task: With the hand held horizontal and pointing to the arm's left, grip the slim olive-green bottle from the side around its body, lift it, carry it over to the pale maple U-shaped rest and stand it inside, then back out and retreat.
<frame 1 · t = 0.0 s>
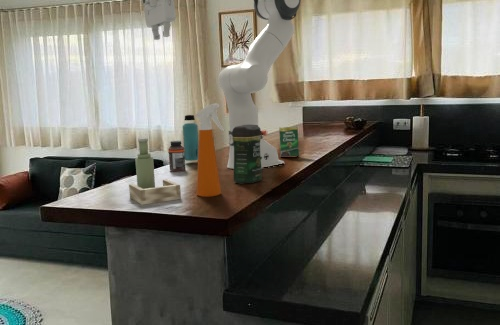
hand: (161, 38, 169), 48 cm above the counter, tool pointing down, fingers open, 8 cm apart
spray bottle: (213, 195, 143), on the counter
coffee jar: (248, 182, 161), on the counter
coffee box: (289, 158, 210), on the counter
bottle: (146, 189, 154), on the counter
supplement bottle: (177, 171, 188), on the counter
u rest: (155, 198, 141), on the counter
beverage bottle: (192, 163, 206), on the counter
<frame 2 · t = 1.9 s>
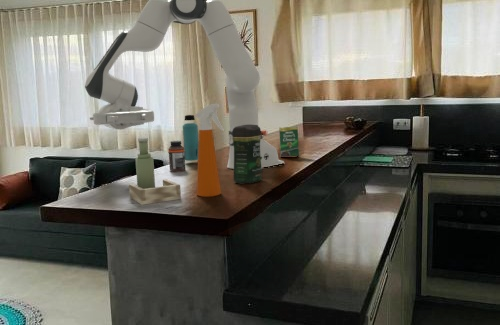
hand: (130, 118, 161), 22 cm above the counter, tool horizontal, fingers open, 8 cm apart
nothing on the counter moved.
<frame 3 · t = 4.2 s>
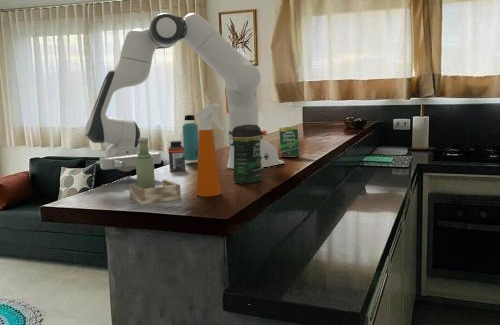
hand: (137, 163, 160), 7 cm above the counter, tool horizontal, fingers open, 8 cm apart
nothing on the counter moved.
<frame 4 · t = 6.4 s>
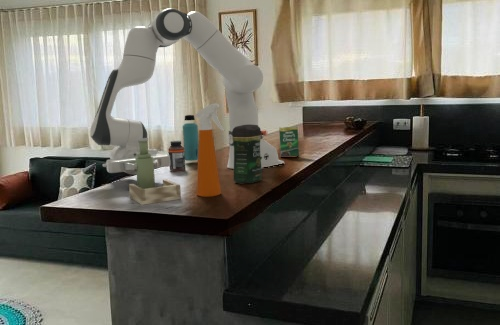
hand: (145, 166, 152), 8 cm above the counter, tool horizontal, fingers closed on bottle, 5 cm apart
bottle: (146, 189, 154), on the counter, touching gripper
everything else where it was.
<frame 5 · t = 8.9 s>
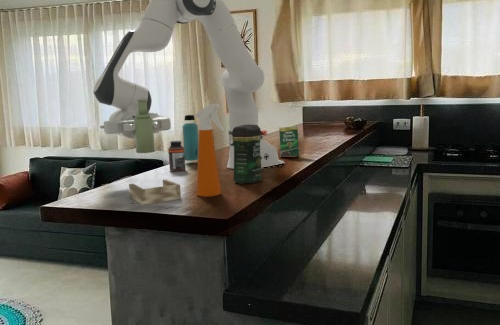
hand: (144, 126, 145), 20 cm above the counter, tool horizontal, fingers closed on bottle, 5 cm apart
bottle: (145, 151, 147), point 13 cm above the counter, touching gripper
everything else where it was.
when the fingers open (10 cm above the counter, at t = 11.9 s): bottle drops 1 cm, resting on u rest.
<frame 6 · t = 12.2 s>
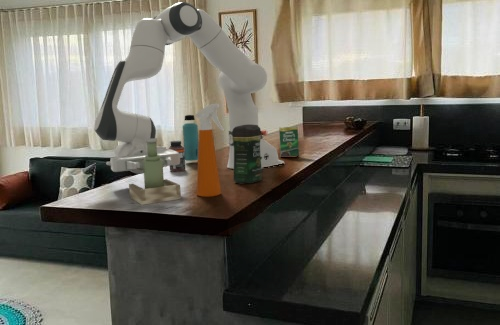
hand: (153, 164, 139), 10 cm above the counter, tool horizontal, fingers open, 8 cm apart
bottle: (154, 194, 141), point 1 cm above the counter, touching u rest
everything else where it was.
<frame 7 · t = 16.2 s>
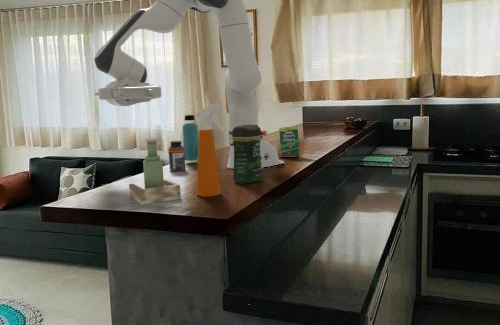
hand: (136, 92, 155), 30 cm above the counter, tool horizontal, fingers open, 8 cm apart
nothing on the counter moved.
at the end: bottle inside the target area on the u rest (0.0 cm from its centre), point 1.0 cm above the u rest's base; bottle tilted 1°; the gripper is holding nothing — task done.
